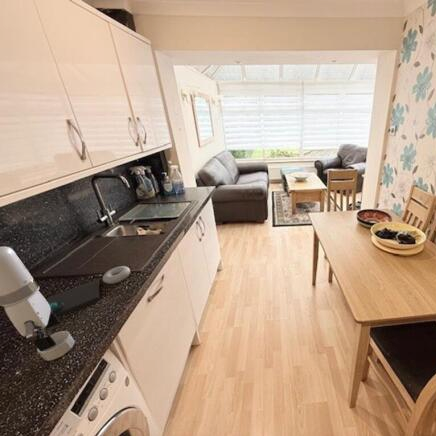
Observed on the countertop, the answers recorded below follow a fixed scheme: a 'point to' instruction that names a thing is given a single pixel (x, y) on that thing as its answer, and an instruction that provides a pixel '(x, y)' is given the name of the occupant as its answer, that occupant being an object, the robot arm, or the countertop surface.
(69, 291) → the scale
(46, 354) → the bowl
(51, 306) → the tare button
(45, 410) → the countertop surface
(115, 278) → the donut
